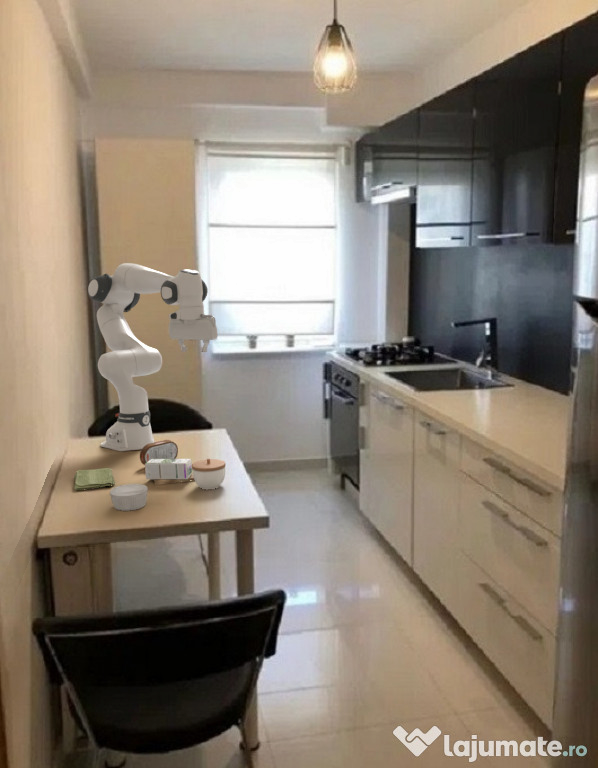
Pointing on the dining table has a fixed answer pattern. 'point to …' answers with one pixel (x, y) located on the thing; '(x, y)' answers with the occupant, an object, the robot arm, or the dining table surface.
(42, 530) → the dining table surface
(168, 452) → the tin
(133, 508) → the ramekin
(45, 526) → the dining table surface
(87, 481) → the washcloth
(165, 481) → the cork pad
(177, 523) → the dining table surface
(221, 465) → the lidded jar
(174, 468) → the syrup box
